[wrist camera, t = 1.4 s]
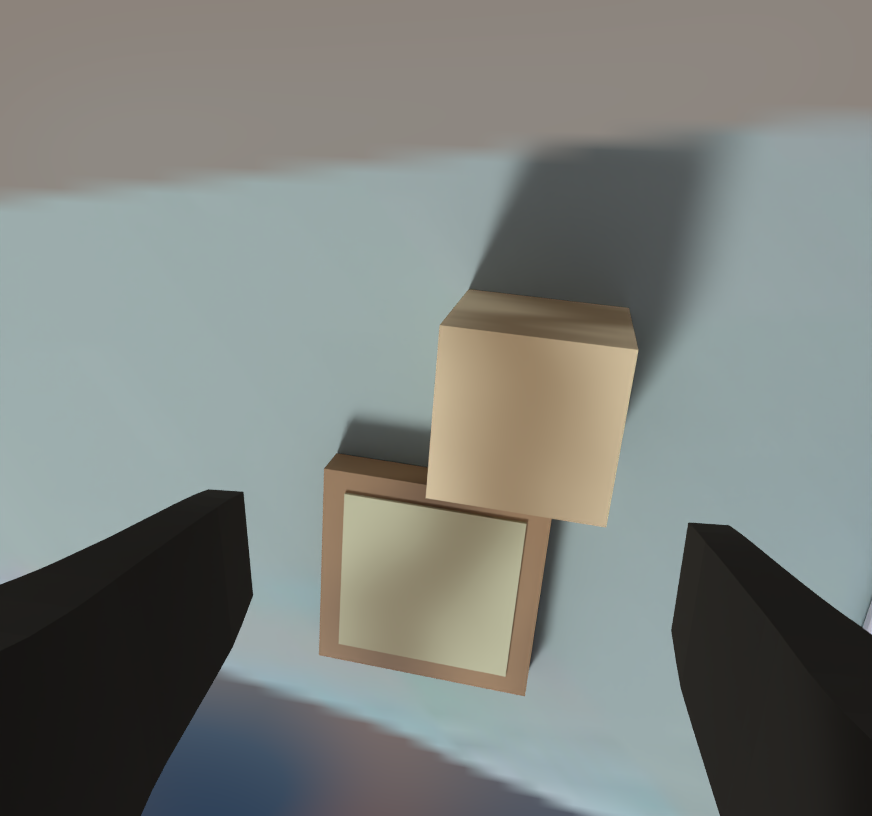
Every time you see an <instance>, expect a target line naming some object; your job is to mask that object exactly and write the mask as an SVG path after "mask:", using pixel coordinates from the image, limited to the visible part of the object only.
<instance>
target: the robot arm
mask: <svg viewBox="0 0 872 816" xmlns="http://www.w3.org/2000/svg"><path fill="white" fill-rule="evenodd" d="M252 597H253V590H252V579H251V569H250V558H249V547H248V536H247V526H246V515H245V504H244V494H243V492H238V491H223V490H209V489H208V490H206V491H203V492H200V493H198V494H195V495H193V496H191V497H189V498H186V499H184V500H182V501H180V502H178V503H176V504H174V505H172V506H170V507H168V508H166V509H164V510H162V511H160V512H158V513H156V514H154V515H152V516H150V517H148V518H146V519H144V520H142V521H140V522H138V523H136V524H134V525H132V526H130V527H128V528H127V529H125V530H123V531H121V532H119V533H117V534H115V535H113V536H111V537H109V538H107V539H105V540H102V541H100V542H98V543H96V544H94V545H92V546H89V547H87V548H85V549H83V550H81V551H79V552H76V553H74V554H72V555H70V556H68V557H66V558H64V559H61V560H59V561H57V562H55V563H53V564H51V565H48V566H46V567H43V568H41V569H39V570H36V571H34V572H32V573H29V574H27V575H24V576H22V577H19V578H17V579H14V580H11V581H9V582H6V583H3V584H0V816H141V814H142V812H143V809H144V807H145V805H146V803H147V801H148V798H149V796H150V794H151V791H152V789H153V788H154V786H155V783H156V782H157V780H158V778H159V776H160V774H161V772H162V770H163V768H164V766H165V765H166V763H167V761H168V759H169V757H170V755H171V754H172V752H173V750H174V749H175V747H176V745H177V743H178V742H179V740H180V738H181V737H182V735H183V733H184V731H185V730H186V728H187V726H188V725H189V723H190V721H191V719H192V718H193V716H194V714H195V712H196V710H197V709H198V707H199V705H200V704H201V702H202V700H203V699H204V697H205V695H206V693H207V692H208V690H209V688H210V686H211V685H212V683H213V681H214V679H215V678H216V676H217V674H218V672H219V671H220V669H221V667H222V665H223V663H224V662H225V660H226V658H227V656H228V654H229V653H230V651H231V649H232V647H233V645H234V642H235V640H236V638H237V635H238V633H239V630H240V628H241V626H242V623H243V621H244V618H245V615H246V613H247V610H248V607H249V605H250V602H251V599H252ZM671 631H672V638H673V644H674V651H675V657H676V664H677V669H678V675H679V681H680V686H681V690H682V694H683V697H684V701H685V704H686V707H687V711H688V714H689V717H690V721H691V724H692V727H693V730H694V734H695V737H696V740H697V743H698V747H699V750H700V753H701V756H702V759H703V763H704V766H705V769H706V772H707V775H708V779H709V782H710V785H711V788H712V791H713V795H714V798H715V801H716V804H717V807H718V811H719V814H720V816H872V601H871V604H870V607H869V610H868V613H867V616H866V619H865V622H864V625H863V628H862V627H861V626H859V625H858V624H856V623H855V622H854V621H852V620H851V619H849V618H848V617H846V616H845V615H844V614H842V613H841V612H839V611H838V610H837V609H835V608H834V607H833V606H831V605H830V604H829V603H827V602H826V601H825V600H823V599H822V598H821V597H819V596H818V595H817V594H815V593H814V592H813V591H812V590H810V589H809V588H808V587H806V586H805V585H804V584H803V583H801V582H800V581H799V580H798V579H796V578H795V577H794V576H793V575H791V574H790V573H789V572H788V571H786V570H785V569H784V568H783V567H781V566H780V565H779V564H778V563H776V562H775V561H774V560H773V559H772V558H770V557H769V556H768V555H767V554H765V553H764V552H763V551H762V550H761V549H759V548H758V547H757V546H756V545H754V544H753V543H752V542H751V541H749V540H748V539H747V538H746V537H744V536H743V535H742V534H740V533H739V532H738V531H736V530H735V529H733V528H732V527H731V526H729V525H716V524H702V523H688V528H687V534H686V541H685V547H684V553H683V560H682V566H681V573H680V579H679V585H678V592H677V598H676V604H675V611H674V617H673V623H672V630H671Z"/></svg>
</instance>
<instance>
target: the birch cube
mask: <svg viewBox="0 0 872 816" xmlns="http://www.w3.org/2000/svg"><path fill="white" fill-rule="evenodd" d="M637 355H638V346H637V342H636V337H635V333H634V328H633V324H632V320H631V315H630V311H629V308H625V307H617V306H608V305H600V304H591V303H582V302H574V301H565V300H557V299H548V298H540V297H531V296H522V295H514V294H505V293H497V292H488V291H480V290H471V289H469V290H468V291H467V292H466V293H465V294H464V296H463V297H462V298H461V299H460V301H459V302H458V303H457V304H456V306H455V307H454V308H453V309H452V311H451V312H450V313H449V314H448V316H447V317H446V318H445V319H444V320H443V322H442V323H441V324H440V328H439V340H438V353H437V365H436V377H435V389H434V402H433V414H432V426H431V439H430V451H429V463H428V475H427V488H426V498H428V499H434V500H440V501H447V502H453V503H459V504H465V505H471V506H477V507H484V508H490V509H496V510H502V511H508V512H514V513H521V514H527V515H533V516H539V517H545V518H551V519H558V520H564V521H570V522H576V523H582V524H588V525H595V526H601V527H606V525H607V520H608V514H609V509H610V503H611V498H612V492H613V487H614V481H615V476H616V470H617V465H618V459H619V454H620V448H621V443H622V437H623V432H624V426H625V421H626V415H627V410H628V404H629V399H630V393H631V388H632V382H633V377H634V371H635V366H636V360H637Z"/></svg>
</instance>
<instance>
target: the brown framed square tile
mask: <svg viewBox="0 0 872 816" xmlns="http://www.w3.org/2000/svg"><path fill="white" fill-rule="evenodd" d="M427 475H428V467H421V466H415V465H408V464H402V463H396V462H389V461H383V460H376V459H370V458H364V457H357V456H351V455H344V454H338V453H336V455H335V456H334V457H333V458H332V460H331V461H330V462H329V463H328V465H327V466H326V467H325V468H324V494H323V531H322V568H321V604H320V641H319V655H322V656H327V657H332V658H337V659H342V660H347V661H352V662H357V663H362V664H366V665H371V666H376V667H381V668H386V669H391V670H396V671H401V672H406V673H411V674H416V675H421V676H426V677H431V678H436V679H441V680H446V681H451V682H456V683H461V684H466V685H471V686H476V687H481V688H486V689H491V690H496V691H501V692H506V693H511V694H516V695H521V696H525V691H526V685H527V678H528V671H529V665H530V658H531V652H532V645H533V638H534V632H535V625H536V619H537V612H538V605H539V599H540V592H541V586H542V579H543V572H544V566H545V559H546V553H547V546H548V539H549V533H550V526H551V520H552V519H551V518H545V517H539V516H533V515H527V514H521V513H514V512H508V511H502V510H496V509H490V508H484V507H477V506H471V505H465V504H459V503H453V502H447V501H440V500H434V499H428V498H426V488H427Z"/></svg>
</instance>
